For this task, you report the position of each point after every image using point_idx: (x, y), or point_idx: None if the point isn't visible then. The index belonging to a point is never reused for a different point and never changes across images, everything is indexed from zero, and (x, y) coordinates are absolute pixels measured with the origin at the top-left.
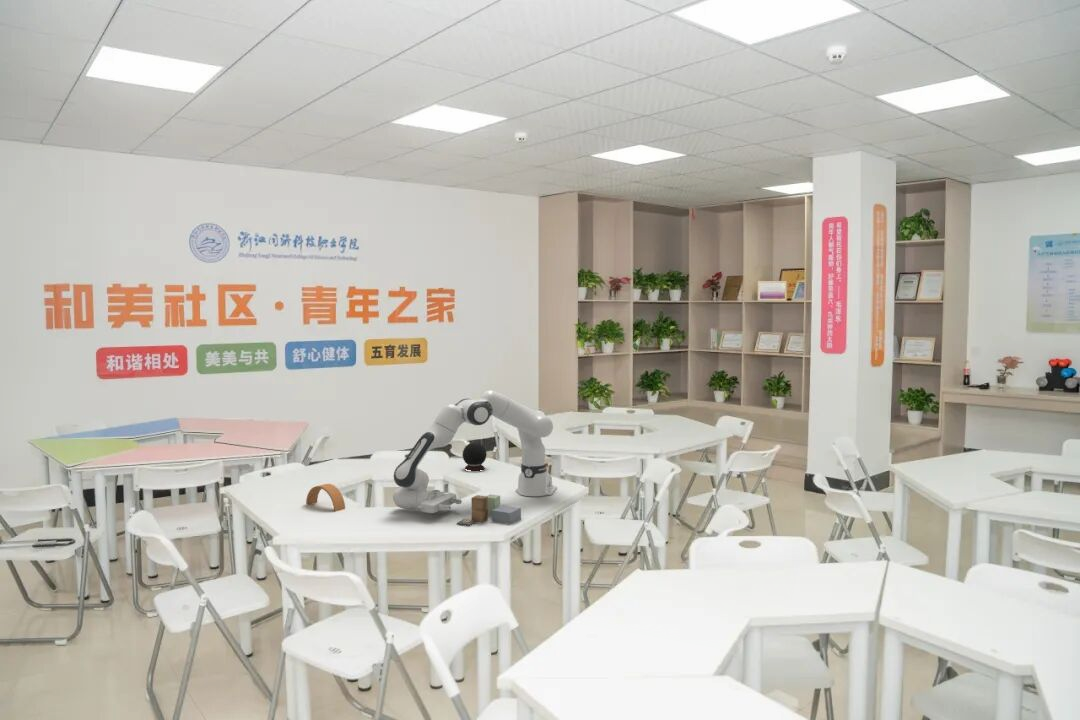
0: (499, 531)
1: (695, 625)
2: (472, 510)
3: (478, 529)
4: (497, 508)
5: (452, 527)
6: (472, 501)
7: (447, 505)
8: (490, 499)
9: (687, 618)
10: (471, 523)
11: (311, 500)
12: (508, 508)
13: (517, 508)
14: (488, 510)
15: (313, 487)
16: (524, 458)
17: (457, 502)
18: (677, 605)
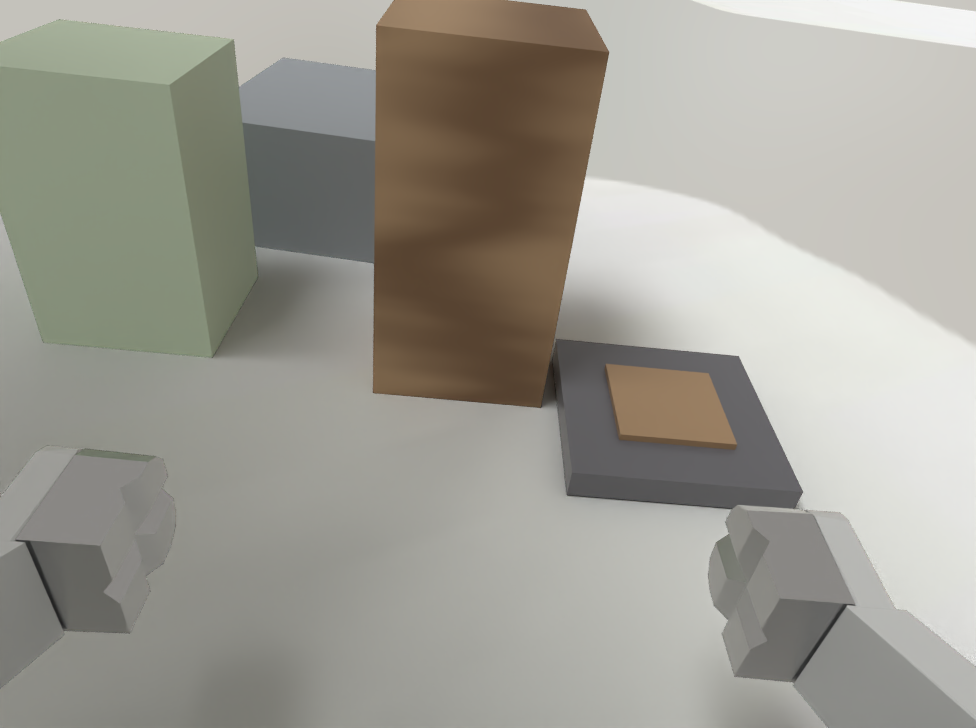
0: (677, 206)
1: (911, 10)
2: (567, 259)
3: (747, 301)
4: (360, 131)
5: (927, 518)
6: (592, 114)
7: (837, 545)
8: (213, 83)
9: (897, 11)
10: (687, 352)
11: None
12: (332, 92)
13: (314, 66)
14: (221, 260)
15: None
16: None
17: (134, 564)
18: (859, 10)
